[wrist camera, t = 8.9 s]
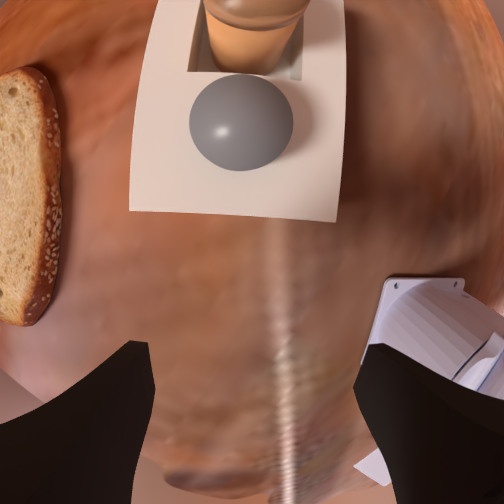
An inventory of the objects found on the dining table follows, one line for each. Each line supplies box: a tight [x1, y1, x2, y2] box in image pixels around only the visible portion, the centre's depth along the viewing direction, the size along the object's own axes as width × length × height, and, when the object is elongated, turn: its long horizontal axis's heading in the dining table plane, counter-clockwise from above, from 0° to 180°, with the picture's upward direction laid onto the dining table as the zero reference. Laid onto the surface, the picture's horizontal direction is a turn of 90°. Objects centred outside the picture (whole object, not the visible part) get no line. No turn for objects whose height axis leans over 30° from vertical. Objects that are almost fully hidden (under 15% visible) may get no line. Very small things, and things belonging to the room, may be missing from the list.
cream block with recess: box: [129, 0, 346, 223], centre depth 11 cm, size 10×14×6 cm
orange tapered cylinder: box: [203, 0, 311, 76], centre depth 9 cm, size 4×4×7 cm
